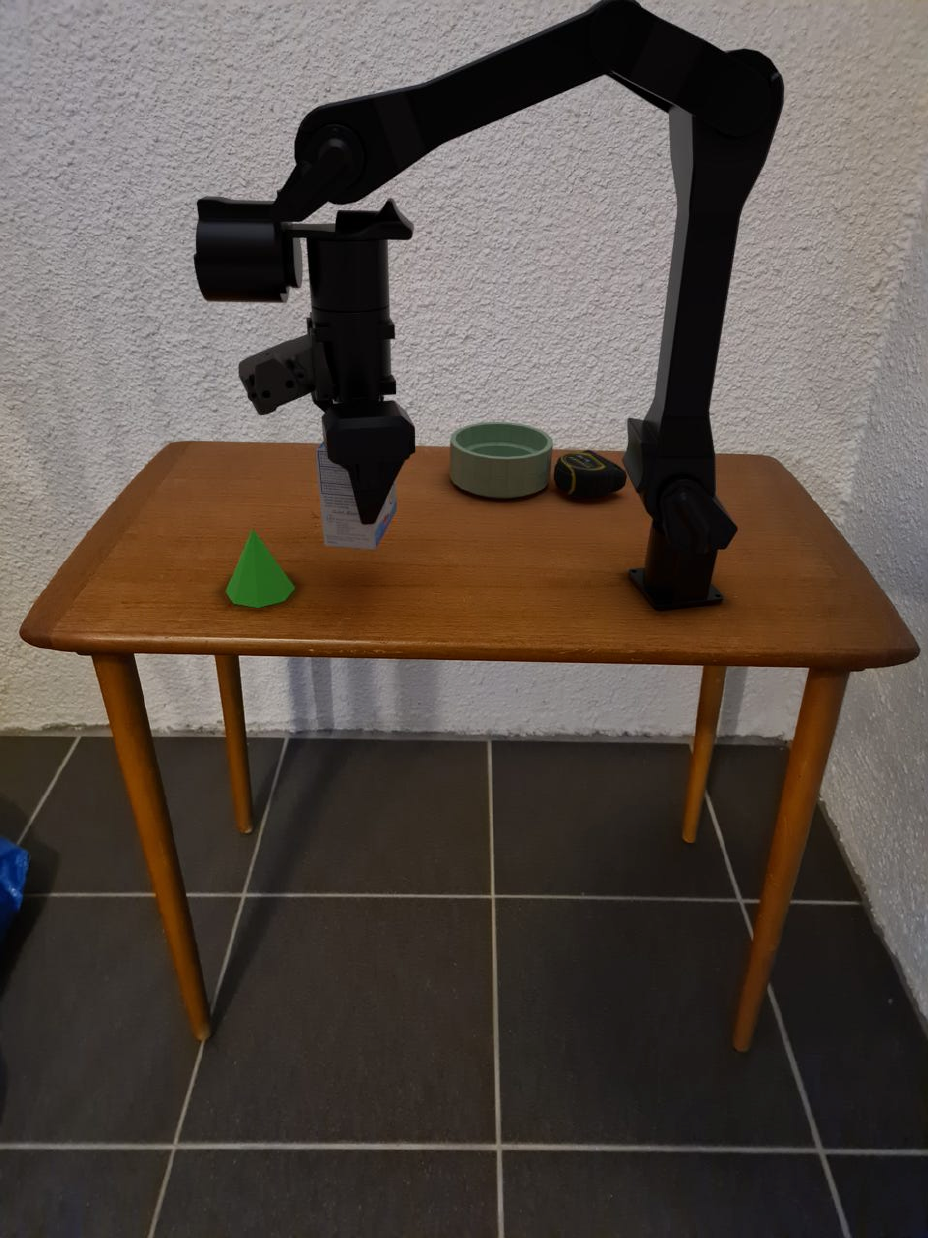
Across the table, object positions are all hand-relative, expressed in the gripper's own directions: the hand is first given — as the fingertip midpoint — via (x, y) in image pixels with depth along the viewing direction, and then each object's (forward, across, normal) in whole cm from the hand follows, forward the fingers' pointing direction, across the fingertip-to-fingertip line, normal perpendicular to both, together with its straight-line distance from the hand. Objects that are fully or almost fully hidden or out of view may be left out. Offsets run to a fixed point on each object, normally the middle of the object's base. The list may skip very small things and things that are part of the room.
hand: (360, 499), depth 69 cm
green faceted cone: (+8, -1, -9) cm, 12 cm away
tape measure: (+8, -16, +27) cm, 33 cm away
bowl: (+8, -20, +18) cm, 28 cm away
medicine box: (+3, 0, 0) cm, 3 cm away
